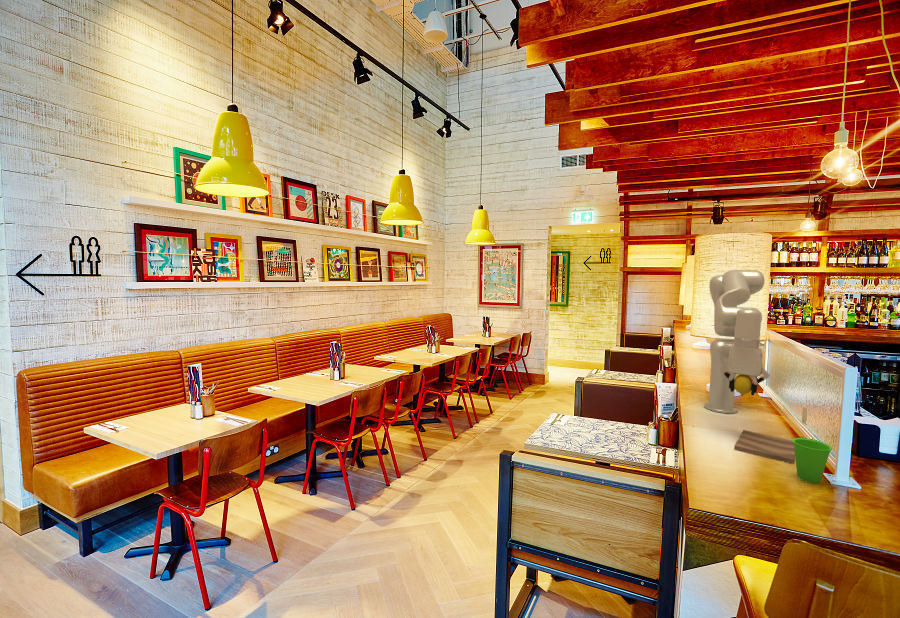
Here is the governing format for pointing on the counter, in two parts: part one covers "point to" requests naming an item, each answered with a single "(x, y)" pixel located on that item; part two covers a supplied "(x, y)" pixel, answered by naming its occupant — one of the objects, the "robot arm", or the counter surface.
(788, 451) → the serving board
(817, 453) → the cup
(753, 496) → the counter surface
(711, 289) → the robot arm
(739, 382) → the lemon
